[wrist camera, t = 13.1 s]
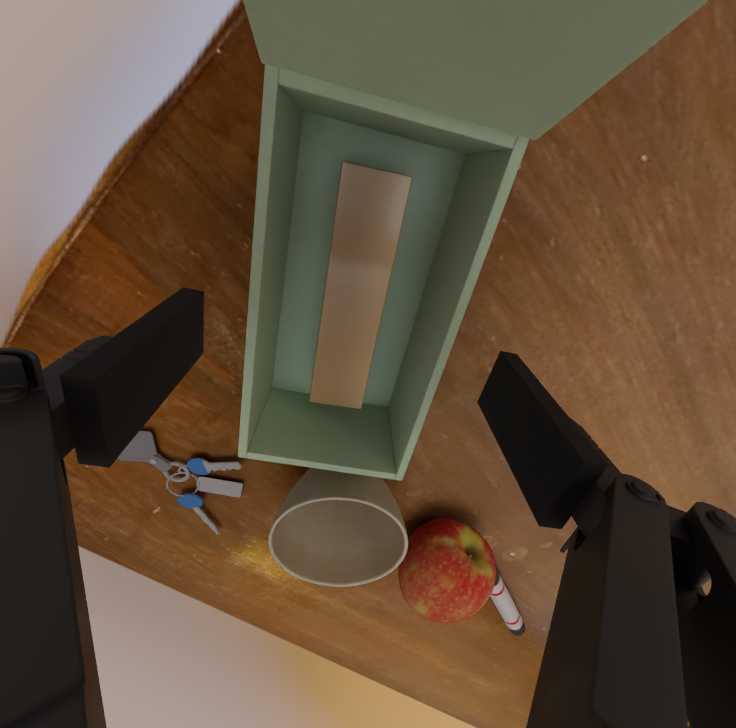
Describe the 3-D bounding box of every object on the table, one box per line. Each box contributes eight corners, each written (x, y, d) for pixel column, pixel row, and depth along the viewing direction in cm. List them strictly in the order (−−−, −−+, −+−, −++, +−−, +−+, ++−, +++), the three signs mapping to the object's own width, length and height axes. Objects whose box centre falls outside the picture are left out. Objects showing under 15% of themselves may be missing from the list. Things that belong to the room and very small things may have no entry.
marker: (521, 615, 44) (528, 633, 43) (505, 619, 45) (511, 637, 43) (485, 545, 38) (492, 563, 36) (467, 550, 38) (472, 569, 36)
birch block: (405, 174, 20) (413, 176, 17) (360, 382, 27) (361, 409, 24) (344, 161, 20) (341, 160, 17) (314, 375, 27) (308, 402, 24)
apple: (492, 521, 36) (526, 607, 29) (439, 564, 39) (457, 652, 32) (430, 490, 33) (449, 576, 26) (378, 539, 37) (383, 628, 30)
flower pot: (369, 411, 29) (373, 479, 23) (414, 490, 33) (428, 566, 27) (263, 453, 31) (239, 526, 24) (319, 522, 35) (311, 600, 29)
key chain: (97, 436, 29) (91, 443, 29) (170, 390, 27) (165, 396, 27) (218, 530, 35) (215, 538, 34) (285, 497, 33) (284, 505, 32)
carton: (296, 98, 19) (264, 62, 12) (474, 147, 20) (530, 137, 14) (265, 388, 28) (237, 457, 21) (392, 409, 29) (402, 481, 22)
